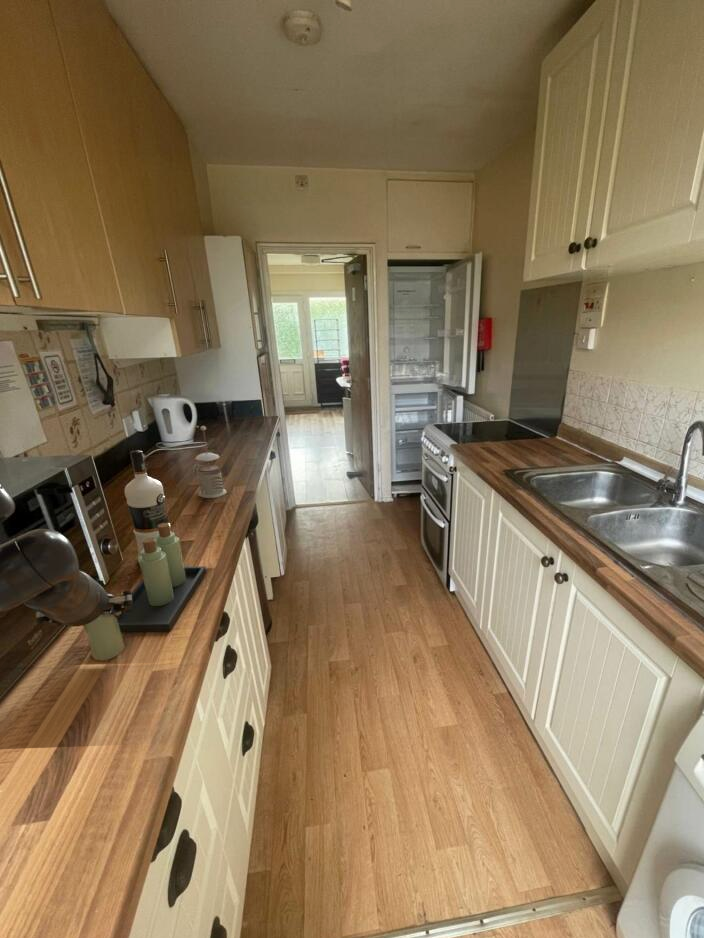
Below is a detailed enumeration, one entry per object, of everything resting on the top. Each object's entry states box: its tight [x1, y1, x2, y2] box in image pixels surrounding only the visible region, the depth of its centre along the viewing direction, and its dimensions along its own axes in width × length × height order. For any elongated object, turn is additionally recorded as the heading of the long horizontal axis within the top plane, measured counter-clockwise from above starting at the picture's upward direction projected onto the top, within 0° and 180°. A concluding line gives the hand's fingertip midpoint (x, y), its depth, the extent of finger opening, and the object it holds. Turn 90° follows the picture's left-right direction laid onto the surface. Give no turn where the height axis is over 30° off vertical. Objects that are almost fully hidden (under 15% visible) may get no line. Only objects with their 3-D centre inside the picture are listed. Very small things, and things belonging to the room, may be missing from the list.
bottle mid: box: [138, 538, 174, 606], centre depth 93 cm, size 5×5×15 cm
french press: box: [192, 425, 227, 499], centre depth 153 cm, size 10×12×25 cm
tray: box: [117, 565, 207, 634], centre depth 96 cm, size 13×23×2 cm, turn 3°
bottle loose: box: [82, 615, 126, 661], centre depth 78 cm, size 5×5×15 cm
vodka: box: [124, 449, 172, 565], centre depth 106 cm, size 9×9×30 cm
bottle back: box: [155, 522, 186, 587], centre depth 100 cm, size 5×5×15 cm
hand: (101, 616), depth 80 cm, fingers closed on bottle loose, 5 cm apart
